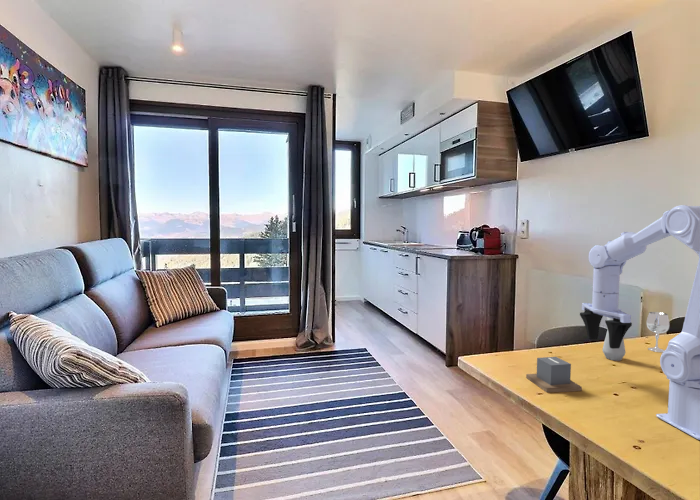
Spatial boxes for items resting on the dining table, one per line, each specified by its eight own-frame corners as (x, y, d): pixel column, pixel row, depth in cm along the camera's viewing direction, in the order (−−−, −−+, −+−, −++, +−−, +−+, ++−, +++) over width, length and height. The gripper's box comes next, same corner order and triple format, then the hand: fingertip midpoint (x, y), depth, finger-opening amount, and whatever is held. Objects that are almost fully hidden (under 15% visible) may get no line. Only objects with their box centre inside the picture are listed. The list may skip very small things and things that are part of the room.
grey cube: (570, 383, 96) (570, 363, 96) (550, 385, 95) (551, 364, 95) (555, 375, 102) (555, 356, 101) (536, 376, 101) (537, 357, 100)
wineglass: (640, 348, 127) (642, 312, 127) (653, 346, 129) (655, 310, 128) (659, 353, 122) (661, 316, 121) (672, 352, 124) (674, 314, 123)
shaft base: (581, 390, 95) (582, 373, 94) (546, 392, 94) (547, 375, 93) (558, 376, 103) (558, 361, 103) (526, 377, 103) (526, 362, 102)
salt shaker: (628, 362, 114) (631, 318, 113) (607, 361, 115) (609, 317, 114) (619, 356, 120) (621, 314, 119) (598, 354, 121) (600, 313, 120)
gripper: (643, 296, 94) (640, 351, 95) (599, 287, 108) (597, 335, 109) (616, 297, 93) (614, 352, 94) (575, 287, 107) (573, 335, 108)
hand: (603, 343), depth 101 cm, fingers open, 7 cm apart
